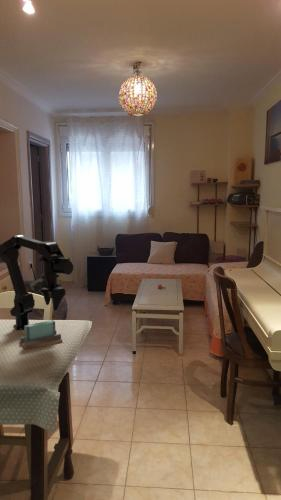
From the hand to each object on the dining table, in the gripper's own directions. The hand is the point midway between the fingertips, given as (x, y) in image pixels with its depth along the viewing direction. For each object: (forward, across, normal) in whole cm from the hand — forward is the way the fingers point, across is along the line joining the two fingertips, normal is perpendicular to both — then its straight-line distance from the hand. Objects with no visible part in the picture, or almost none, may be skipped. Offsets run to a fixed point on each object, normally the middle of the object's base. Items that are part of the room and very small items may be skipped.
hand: (51, 307), depth 158 cm
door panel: (+11, +6, -7) cm, 14 cm away
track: (+12, +6, -7) cm, 15 cm away
